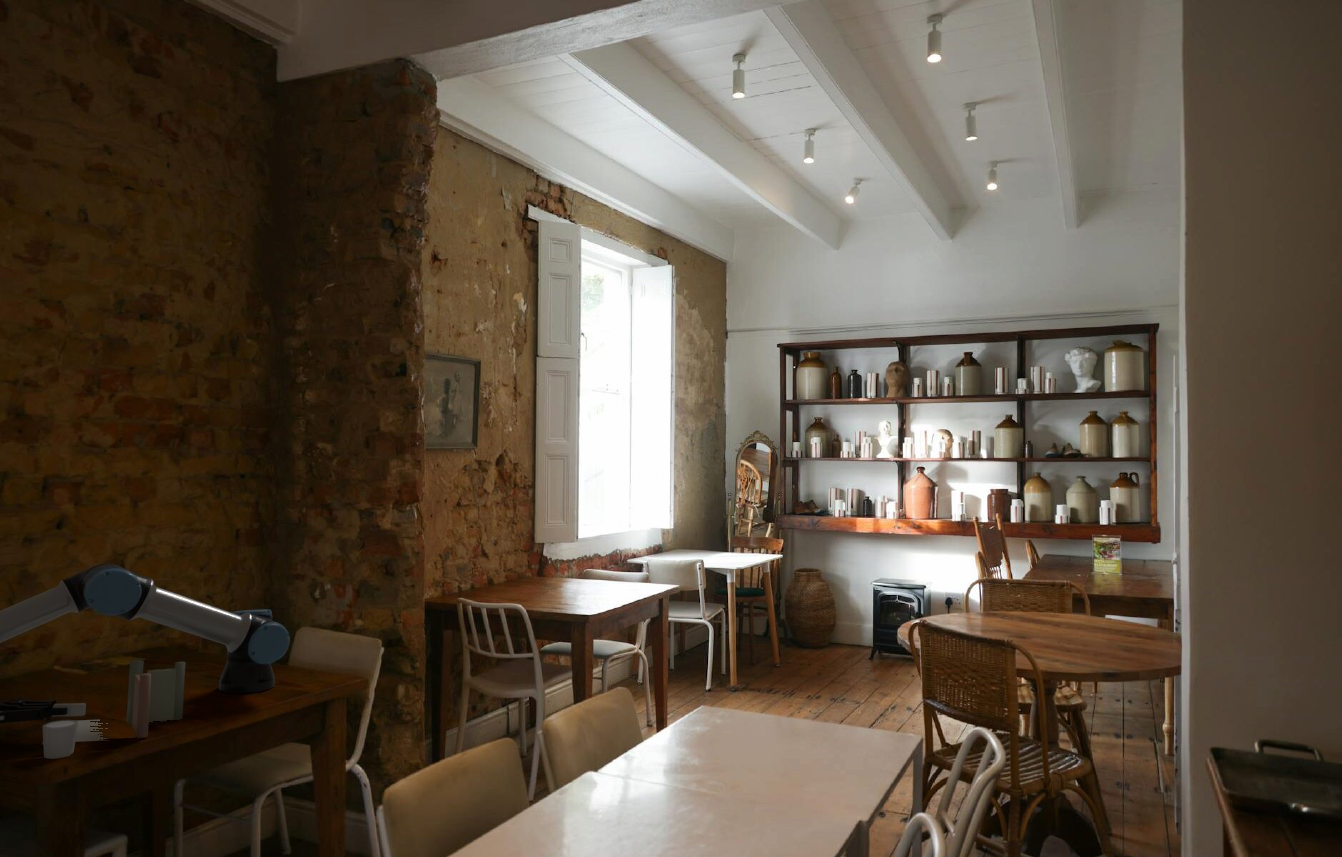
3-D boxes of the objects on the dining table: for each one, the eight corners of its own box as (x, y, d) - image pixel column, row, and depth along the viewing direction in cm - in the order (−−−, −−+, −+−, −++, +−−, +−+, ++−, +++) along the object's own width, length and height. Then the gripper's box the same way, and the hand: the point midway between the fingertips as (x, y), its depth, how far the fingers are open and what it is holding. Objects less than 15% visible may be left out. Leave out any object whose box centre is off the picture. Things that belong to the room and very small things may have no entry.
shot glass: (80, 754, 203) (82, 724, 203) (45, 761, 198) (46, 730, 198) (71, 747, 207) (73, 717, 208) (36, 754, 202) (38, 723, 203)
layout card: (156, 718, 232) (156, 716, 232) (137, 739, 215) (137, 738, 215) (67, 722, 226) (67, 720, 226) (41, 744, 208) (41, 743, 208)
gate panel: (129, 724, 224) (132, 664, 224) (139, 722, 225) (143, 663, 226) (137, 738, 213) (140, 676, 214) (148, 737, 215) (152, 675, 215)
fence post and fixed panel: (125, 726, 224) (129, 663, 224) (126, 723, 226) (130, 660, 227) (182, 721, 229) (185, 659, 230) (182, 718, 232) (185, 657, 233)
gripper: (-15, 720, 214) (94, 717, 219) (-45, 736, 201) (71, 733, 206) (-13, 688, 214) (96, 686, 219) (-43, 703, 201) (73, 701, 206)
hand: (84, 709), depth 213 cm, fingers closed
